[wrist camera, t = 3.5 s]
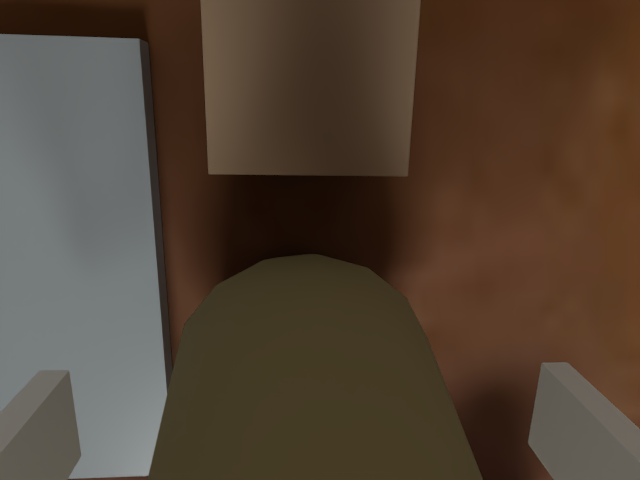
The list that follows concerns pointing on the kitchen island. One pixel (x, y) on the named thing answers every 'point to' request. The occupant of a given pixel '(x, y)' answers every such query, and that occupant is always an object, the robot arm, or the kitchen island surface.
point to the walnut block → (309, 86)
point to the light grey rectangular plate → (84, 240)
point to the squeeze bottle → (308, 383)
